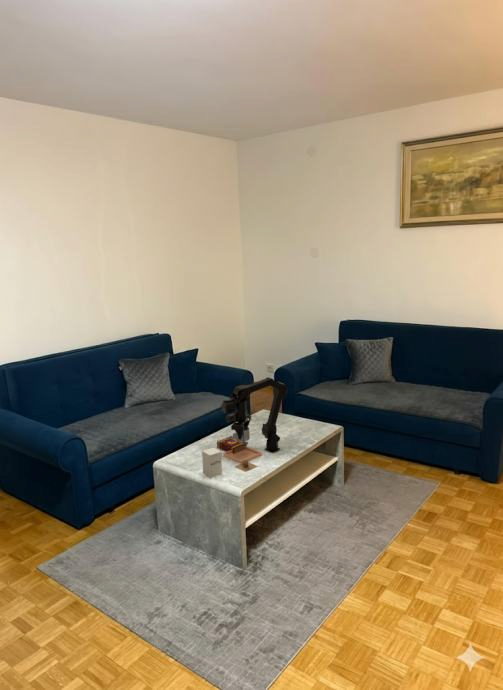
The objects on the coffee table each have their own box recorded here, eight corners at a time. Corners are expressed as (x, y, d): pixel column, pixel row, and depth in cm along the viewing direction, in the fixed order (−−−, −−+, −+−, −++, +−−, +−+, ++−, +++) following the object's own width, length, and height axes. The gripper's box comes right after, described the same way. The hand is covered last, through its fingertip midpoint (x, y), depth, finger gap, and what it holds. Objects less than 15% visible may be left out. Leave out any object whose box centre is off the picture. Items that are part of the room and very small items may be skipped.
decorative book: (233, 455, 279) (233, 447, 278) (215, 448, 290) (215, 439, 289) (248, 449, 286) (248, 441, 285) (230, 442, 298) (229, 434, 297)
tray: (243, 448, 287) (243, 445, 286) (262, 456, 276) (261, 452, 275) (223, 456, 277) (223, 453, 276) (241, 465, 266) (241, 461, 265)
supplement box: (210, 478, 251) (209, 455, 249) (202, 473, 257) (201, 450, 255) (222, 474, 255) (221, 451, 253) (214, 469, 261) (213, 447, 259)
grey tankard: (250, 436, 276) (250, 426, 275) (247, 441, 269) (247, 431, 268) (235, 436, 278) (234, 426, 277) (231, 441, 271) (231, 430, 270)
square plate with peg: (246, 462, 269) (246, 456, 268) (258, 467, 262) (258, 461, 262) (234, 467, 263) (233, 461, 262) (245, 472, 256) (245, 466, 256)
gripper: (232, 403, 281) (233, 429, 284) (221, 414, 264) (222, 442, 267) (251, 404, 278) (252, 430, 281) (241, 415, 261) (242, 443, 264)
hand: (242, 436), depth 273 cm, fingers closed on grey tankard, 7 cm apart
